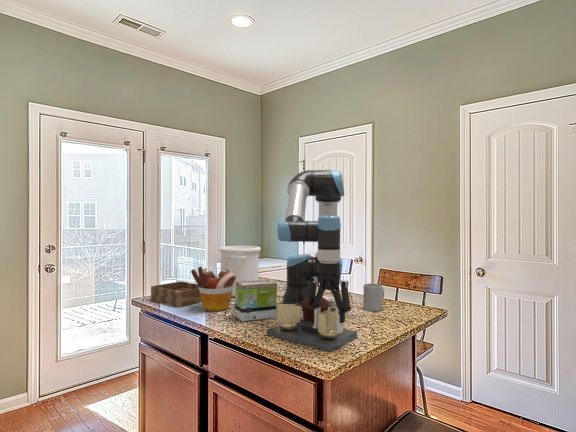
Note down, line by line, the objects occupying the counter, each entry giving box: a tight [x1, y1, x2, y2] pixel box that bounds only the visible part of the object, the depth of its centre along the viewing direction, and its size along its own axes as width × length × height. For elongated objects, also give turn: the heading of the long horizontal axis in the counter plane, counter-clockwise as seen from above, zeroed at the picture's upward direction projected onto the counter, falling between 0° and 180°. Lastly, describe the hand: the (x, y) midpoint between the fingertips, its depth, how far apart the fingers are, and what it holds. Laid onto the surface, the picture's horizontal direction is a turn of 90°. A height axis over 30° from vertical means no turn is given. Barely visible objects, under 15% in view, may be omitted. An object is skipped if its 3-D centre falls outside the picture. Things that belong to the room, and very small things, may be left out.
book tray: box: [150, 280, 202, 309], centre depth 184 cm, size 23×18×7 cm
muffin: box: [300, 295, 331, 322], centre depth 149 cm, size 12×11×10 cm
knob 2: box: [318, 307, 339, 339], centre depth 124 cm, size 8×6×9 cm
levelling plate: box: [266, 318, 358, 353], centre depth 131 cm, size 26×18×4 cm
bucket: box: [218, 245, 262, 298], centre depth 201 cm, size 26×22×25 cm
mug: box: [362, 283, 385, 312], centre depth 171 cm, size 12×8×11 cm
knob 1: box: [276, 303, 301, 330], centre depth 133 cm, size 8×6×9 cm
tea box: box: [234, 279, 278, 322], centre depth 155 cm, size 15×10×15 cm
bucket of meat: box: [190, 266, 236, 312], centre depth 169 cm, size 20×16×20 cm
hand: (328, 329), depth 124 cm, fingers open, 8 cm apart
